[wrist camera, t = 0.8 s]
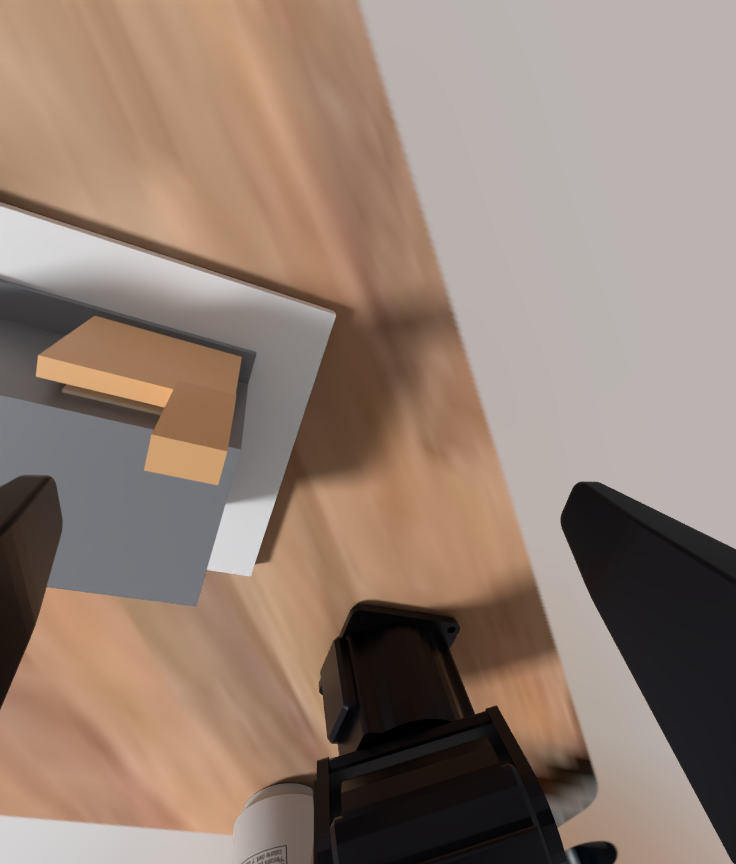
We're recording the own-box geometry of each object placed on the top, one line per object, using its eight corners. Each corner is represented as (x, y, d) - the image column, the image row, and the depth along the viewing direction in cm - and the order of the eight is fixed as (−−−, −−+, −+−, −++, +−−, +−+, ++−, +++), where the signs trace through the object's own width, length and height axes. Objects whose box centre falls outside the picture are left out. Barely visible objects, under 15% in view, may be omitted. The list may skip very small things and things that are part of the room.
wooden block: (243, 349, 18) (227, 451, 11) (237, 371, 19) (218, 485, 11) (96, 307, 17) (-36, 392, 10) (92, 332, 17) (-38, 433, 10)
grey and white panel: (333, 310, 20) (362, 361, 14) (251, 565, 25) (245, 687, 18) (-248, 120, 15) (-611, 70, 9) (-216, 491, 19) (-439, 628, 13)
